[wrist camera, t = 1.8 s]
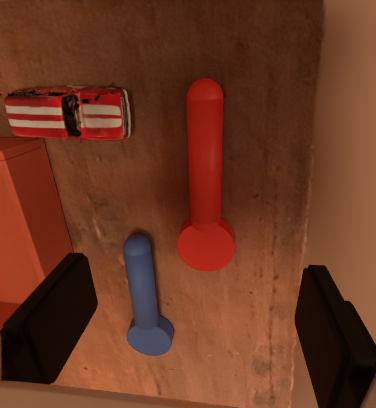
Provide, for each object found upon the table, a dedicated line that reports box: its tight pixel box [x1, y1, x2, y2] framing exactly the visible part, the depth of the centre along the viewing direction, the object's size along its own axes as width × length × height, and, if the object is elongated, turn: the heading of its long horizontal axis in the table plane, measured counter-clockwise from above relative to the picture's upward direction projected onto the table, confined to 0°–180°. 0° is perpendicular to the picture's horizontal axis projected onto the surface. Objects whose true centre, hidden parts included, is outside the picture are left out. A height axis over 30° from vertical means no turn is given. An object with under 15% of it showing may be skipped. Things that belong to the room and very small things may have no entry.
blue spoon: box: [123, 234, 174, 356], centre depth 24 cm, size 14×4×2 cm, turn 2°
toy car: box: [0, 82, 131, 143], centre depth 17 cm, size 4×8×3 cm, turn 89°
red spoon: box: [177, 78, 235, 271], centre depth 18 cm, size 14×4×2 cm, turn 2°
